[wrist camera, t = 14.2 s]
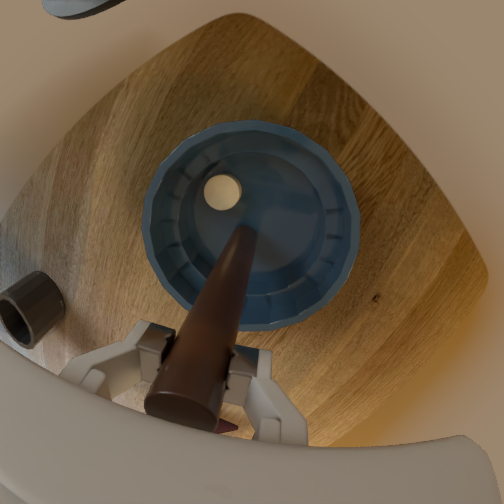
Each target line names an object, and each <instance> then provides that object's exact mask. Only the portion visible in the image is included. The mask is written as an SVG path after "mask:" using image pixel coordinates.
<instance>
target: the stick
mask: <svg viewBox="0 0 504 504" xmlns="http://www.w3.org/2000/svg"><path fill="white" fill-rule="evenodd" d="M257 239H258V237H257V233H256V231H255V230H254V229H253V228H252V227H250V226H248V225H241V226H238V227H237V228H235V229H234V231H233V232H232V234H231V236H230V238H229V240H228V241H227V243H226V245H225V247H224V249H223V251H222V252H221V254H220V256H219V258H218V260H217V261H216V263H215V265H214V267H213V269H212V271H211V272H210V274H209V276H208V278H207V280H206V282H205V283H204V285H203V287H202V289H201V291H200V293H199V295H198V296H197V298H196V300H195V302H194V304H193V306H192V308H191V310H190V312H189V313H188V315H187V317H186V319H185V321H184V323H183V325H182V327H181V329H180V331H179V332H178V334H177V336H176V338H175V340H174V342H173V344H172V346H171V348H170V350H169V352H168V354H167V356H166V358H165V360H164V362H163V364H162V365H161V367H160V369H159V371H158V373H157V375H156V377H155V379H154V381H153V383H152V385H151V387H150V389H149V391H148V393H147V395H146V397H145V400H144V409H145V411H146V413H147V415H150V416H153V417H156V418H159V419H163V420H166V421H169V422H173V423H176V424H180V425H183V426H187V427H191V428H195V429H199V430H203V431H207V432H211V433H213V432H214V431H215V430H216V428H217V426H218V422H219V417H220V413H221V408H222V403H223V399H224V394H225V390H226V379H227V374H228V370H229V365H230V360H231V356H232V352H233V347H234V344H235V343H236V338H237V334H238V329H239V324H240V319H241V315H242V310H243V305H244V301H245V296H246V291H247V287H248V282H249V277H250V272H251V268H252V263H253V258H254V254H255V249H256V244H257Z"/></svg>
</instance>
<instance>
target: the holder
mask: <svg viewBox="0 0 504 504" xmlns="http://www.w3.org/2000/svg"><path fill="white" fill-rule="evenodd" d="M64 315H65V305H64V301H63V298H62V295H61V293H60V291H59V289H58V287H57V286H56V284H55V283H54V282H53V281H52V279H51V278H50V277H48V276H47V275H46V274H44V273H43V272H40V271H33V272H32V273H30V274H28V275H26V276H25V277H23V278H22V279H20V280H19V281H17V282H16V283H14V284H13V285H12V286H10V287H9V288H7V289H6V290H4V291H3V292H2V293H0V320H1V322H2V324H3V326H4V328H5V329H6V331H7V332H8V334H9V335H10V336H11V337H12V339H13V340H14V341H15V342H17V343H18V344H19V345H20V346H22V347H24V348H26V349H33V348H34V347H35V346H36V345H37V344H38V343H39V342H40V341H41V340H42V339H43V338H44V337H45V336H46V335H47V334H48V333H49V332H50V331H51V330H52V329H53V328H54V327H55V326H56V325H57V324H58V323H59V322H60V321H61V320H62V319H63V317H64Z"/></svg>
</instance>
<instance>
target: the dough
mask: <svg viewBox="0 0 504 504" xmlns="http://www.w3.org/2000/svg"><path fill="white" fill-rule="evenodd" d="M241 193H242V188H241V184H240V182H239V181H238V179H237V178H236V177H234V176H233V175H231V174H227V173H222V174H218V175H216V176H214V177H212V178H210V179H209V180H208V181H207V183H206V185H205V187H204V197H205V200H206V202H207V203H208V204H209V205H210V206H211V207H212V208H214V209H217V210H227V209H230V208H232V207H233V206H234V205H235V204H236V203H237V202H238V200H239V199H240V197H241Z"/></svg>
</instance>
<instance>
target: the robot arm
mask: <svg viewBox="0 0 504 504" xmlns="http://www.w3.org/2000/svg"><path fill="white" fill-rule="evenodd" d="M175 338H176V331H175V330H174V329H171V328H168V327H165V326H161V325H158V324H155V323H151V322H148V321H145V320H142V319H141V320H139V321H138V322H137V323H136V325H135V326H134V327H133V329H132V330H131V331H130V333H129V334H128V336H127V337H126V338H125V340H124V341H123V342H121V341H118V342H116V343H113V344H110V345H107V346H105V347H102V348H99V349H96V350H94V351H91V352H88V353H85V354H82V355H79V356H77V357H74V358H72V360H71V361H70V362H69V363H68V364H67V366H66V367H65V368H64V369H63V371H62V372H61V373H60V374H59V376H57V375H55V374H54V373H52V372H50V371H48V370H47V369H45V368H43V367H41V366H40V365H38V364H36V363H35V362H33V361H31V360H30V359H28V358H26V357H25V356H23V355H22V354H20V353H19V352H17V351H16V350H14V349H13V348H11V347H10V346H8V345H7V344H5V343H4V342H2V341H1V340H0V504H502V500H501V496H500V492H499V487H498V483H497V480H496V476H495V473H494V470H493V467H492V464H491V461H490V459H489V457H488V455H487V453H486V451H485V450H483V449H482V448H481V447H480V446H479V445H477V444H476V443H475V442H474V441H473V440H471V439H470V438H468V437H467V436H464V435H456V436H452V437H446V438H441V439H436V440H430V441H423V442H416V443H409V444H399V445H388V446H374V447H314V446H308V430H307V420H306V419H305V418H304V417H303V416H302V414H301V413H300V412H299V411H298V409H297V408H296V407H295V406H294V404H293V403H292V402H291V401H290V399H289V398H288V397H287V395H286V394H285V393H284V392H283V390H282V389H281V388H280V386H279V385H278V384H277V382H276V381H275V380H271V376H272V351H269V350H263V349H256V348H251V347H246V346H241V345H236V344H234V347H233V352H232V356H231V360H230V365H229V370H228V374H227V379H226V390H225V394H224V399H223V402H226V403H230V404H235V405H239V406H243V408H244V410H245V412H246V414H247V416H248V418H249V420H250V422H251V424H252V426H253V428H254V430H255V433H254V435H253V438H252V440H248V439H242V438H236V437H231V436H226V435H221V434H216V433H211V432H207V431H203V430H199V429H195V428H191V427H187V426H183V425H180V424H176V423H173V422H169V421H166V420H163V419H159V418H156V417H153V416H150V415H147V414H144V413H141V412H139V411H136V410H133V409H130V408H128V407H125V406H122V405H120V404H117V403H115V402H112V399H113V398H114V397H116V396H118V395H119V394H121V393H123V392H124V391H126V390H128V389H129V388H131V387H132V386H134V385H136V384H137V383H139V382H141V380H144V381H147V382H150V383H153V381H154V379H155V377H156V375H157V373H158V371H159V369H160V367H161V365H162V364H163V362H164V360H165V358H166V356H167V354H168V352H169V350H170V348H171V346H172V344H173V342H174V340H175Z"/></svg>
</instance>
